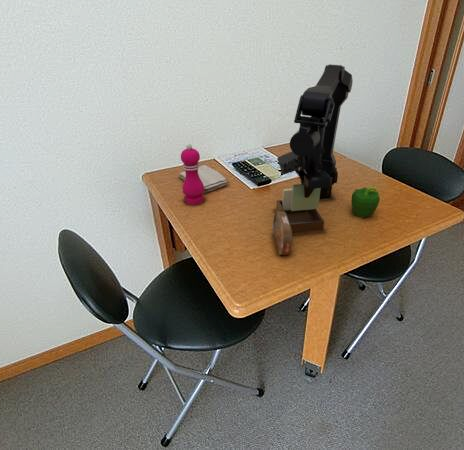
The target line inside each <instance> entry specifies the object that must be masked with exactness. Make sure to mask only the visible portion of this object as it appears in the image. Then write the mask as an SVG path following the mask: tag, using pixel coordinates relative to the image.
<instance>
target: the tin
mask: <svg viewBox="0 0 464 450" xmlns="http://www.w3.org/2000/svg"><path fill="white" fill-rule="evenodd" d="M272 229H273V234H274V236H275V240H276V243H277V249H278V255H280V256H281V255H290V254H291V249H292V244H293V234H292V229H291V226H290V223H289V220H288V217H287V214H286V212H284V211H277V210H276V211H275V212H274V216H273V228H272Z"/></svg>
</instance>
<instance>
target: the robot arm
mask: <svg viewBox="0 0 464 450" xmlns="http://www.w3.org/2000/svg"><path fill="white" fill-rule="evenodd" d="M353 81H354V80H353V75H352V74H351V73H350V72H349V71H347V70H346V68H345V66H343V65H342V64H331V63H329V64H326V65H325V67H324V70H323V73H322V75H321V76H320V78H319V79H318V81H317V83H316V85H314V86H310V87H307V88H306V89H305V90H304V91H303V94H301V95H300V96H299V100H298V104H297V108H296V113H295V116H294V119H293V122H294V124H299V128H298V130H297V131H296V132H295V133H294V134H293V135H292V136H291V138H290V139H289V148H290V152H289V151H288V152H287V153H284V154H282V155H279V156H278V157H277V158H276V160H277V163H278V166H279V169H280V170H281V172H282V174H283V175H287V174H291V173H293V172H295V174H296V175H297V176H298V177H299V179H300V184H304V196H305V198H308V197H309V196H310V195H311V193H312V192H313V190H314V189H315V188H321V190H320V198H319V200H330V199H333V196H332V190H333V186H334V185H335V184H337V183H338V178H339V172H338V168H337V167H336V164H337V160H336V158H335V155H334V147H335V141H336V135H337V131H338V124H339V120H340V113H341V108H342V106H343V104H344V103H345V102H346V101H347V99H348V97H349V93H351V91H352V88H353Z"/></svg>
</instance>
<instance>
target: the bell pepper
mask: <svg viewBox="0 0 464 450" xmlns="http://www.w3.org/2000/svg"><path fill="white" fill-rule="evenodd" d="M377 190H378V188H377V187H376V186H370V187H368V188H367V187H361V188H355V189H354V191H353V192H352V193H351V199H350V200H351V209H352V212H353V214H354V216H356V217H358V218H362V219H364V218H368V217H369V218H370V217H372V216H373V215H374V214H375V212H376V210H377V208H378V207H379V203H380V199H381V198H380V194H379V191H377Z"/></svg>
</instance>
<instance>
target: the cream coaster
mask: <svg viewBox="0 0 464 450" xmlns="http://www.w3.org/2000/svg"><path fill="white" fill-rule="evenodd" d="M281 200H282V208H283V210H291V200H292V188H285V189H284V188H283V189H282V199H281Z"/></svg>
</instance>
